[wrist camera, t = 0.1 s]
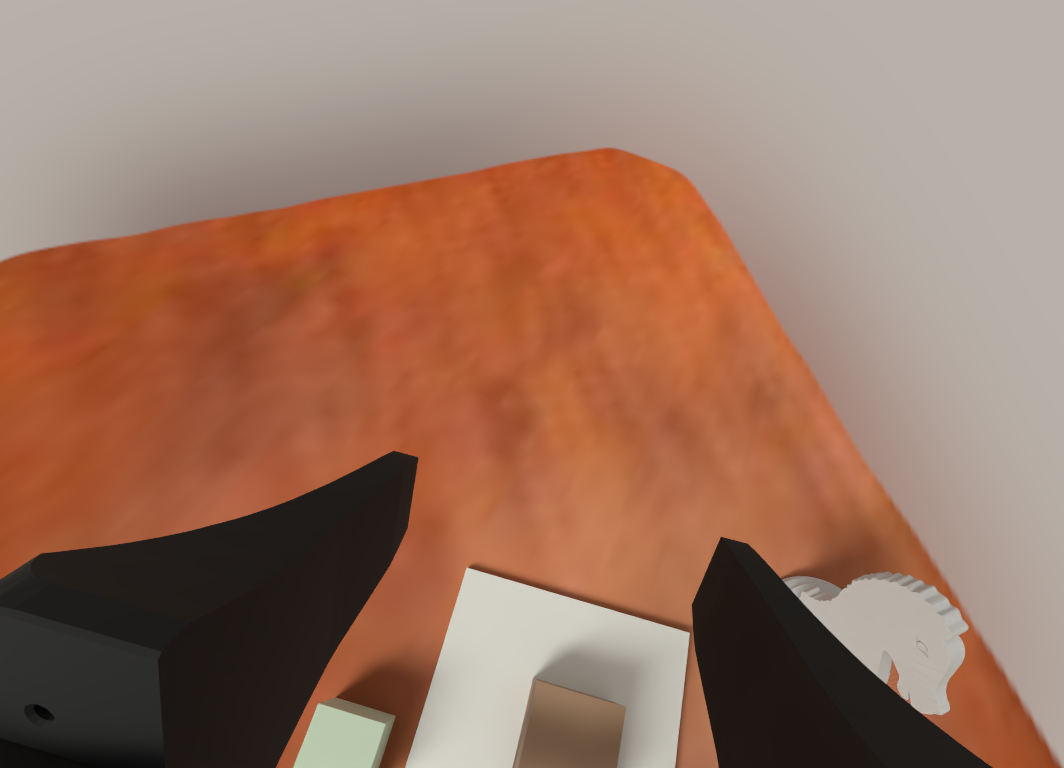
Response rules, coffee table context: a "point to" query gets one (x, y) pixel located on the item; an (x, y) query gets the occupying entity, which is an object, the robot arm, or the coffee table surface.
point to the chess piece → (893, 630)
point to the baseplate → (546, 674)
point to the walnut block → (568, 729)
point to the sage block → (345, 736)
